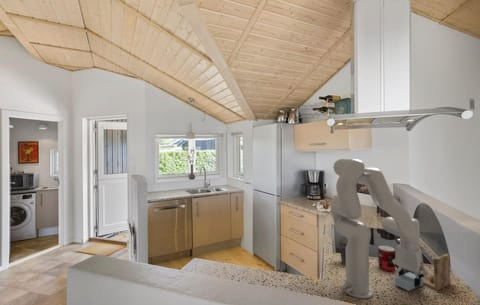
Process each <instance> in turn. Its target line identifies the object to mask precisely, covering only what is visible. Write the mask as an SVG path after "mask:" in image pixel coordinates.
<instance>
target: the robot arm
mask: <svg viewBox="0 0 480 305" xmlns="http://www.w3.org/2000/svg"><path fill="white" fill-rule="evenodd" d="M332 166H333V171H334V173H335V175H337V176H338V179H337V181H336V184H335V187H336V194H337V195H335V196H334V197H333V198H332V199H331V201H330V205H329V207H330V212H331V215H332V220H333V224H334V227H335V230H336V231H337V233H338V234H339V235H341V237H342V236H344V237H346V238H348V243H347V246H346V265H345V280H344V282H343V283H342V285H340V286H339V287H338V289H339V290H340V291H342V292H345V293H346V294H348V295H349V296H350V297H354V298H357V299H370V298H372V297H373V296H374V290H373V289H372V288H371V287H370V258H369V256H370V252H369V251H370V250H369V248H370V241H371V238H372V232H371V229H370V228H369V226H368V225H367V224H366V223H364V222H362V221H359V220H358V219H359V218H360V217H361V216H362V212H363V211H362V204H361V201H360V199H359V198H360V197H359V195H358V194H359V193H358V189H357V185H358V184H360V185H365V187H366V189H367V190H368V193H369V196H370V198H371V200H372V202H373V204H375V205H376V206H377V207H378V208H380V209H381V210H382V211H384V212H385V213H387V214H388V215H389V216H386V217H384V218H382V221H381V223H380V224H381V225H380V226H381V227H382V229H383V230H384V231H386V232H388V233H389V234H392V235H394V236H397V237H399V238H397V242H398V243H399V244H397V246H396V251H395V259H393V260H392V262H393V263H394V265H395V269H396V270H397V272H398V276H400V275H403V274H404V271H403V269H406V270H409V271H412V272H414V274H415V276H416V278H415V287H417V288H419V286H420V285H421V278H422V277H424V276H426V275H428V274H430V272H429V271H428V270H427V269H426V268H425V267H424V260H423V253H422V250H421V249H420V221H419V220H418V219H417V218H414V217H411V215H410V213H409V212H408V211H407V209H406V208H405V207H404V206H403V205H402V204H401V203H400V202H399V201H398V200H397V199H396V197H394V196H393V194H392V191H391V189H390V187H389V185H388V183H387V180H386V178H385V176H384V173H383V172H382V170H381V169H379V168H376V167H370V166H369V167H367V166H366V165H365V163H364V162H363V161H362V160H360V159H358V158H357V159H356V158H340V159H337V160H336V161H335V162H334V163H333V165H332ZM420 271H422V272H423V273H422V274H421V273H420ZM420 287H421V286H420Z"/></svg>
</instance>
